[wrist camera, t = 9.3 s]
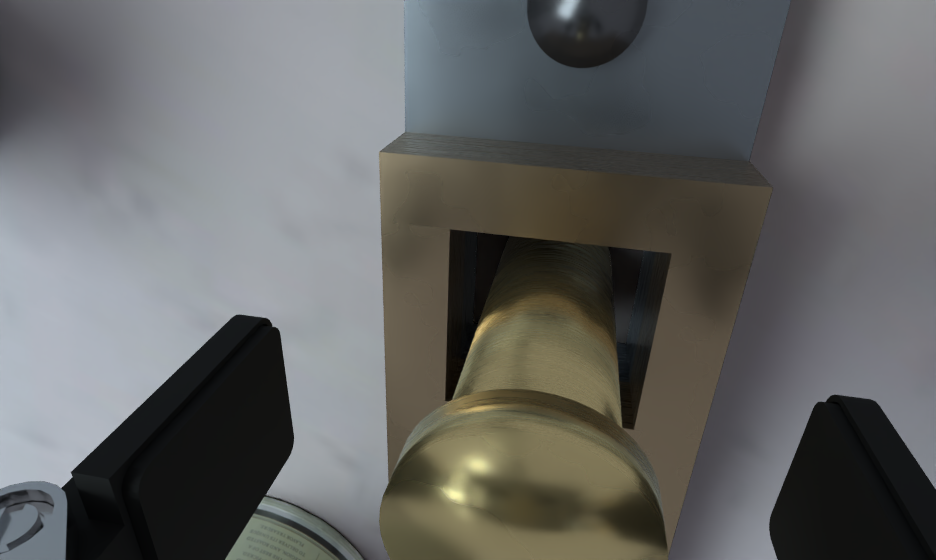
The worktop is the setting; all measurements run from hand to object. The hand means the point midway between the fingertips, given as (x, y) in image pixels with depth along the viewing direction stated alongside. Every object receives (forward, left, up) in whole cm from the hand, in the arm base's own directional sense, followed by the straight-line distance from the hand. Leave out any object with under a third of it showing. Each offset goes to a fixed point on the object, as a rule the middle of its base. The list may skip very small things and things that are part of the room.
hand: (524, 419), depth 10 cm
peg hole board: (0, 0, -8) cm, 8 cm away
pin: (0, 0, -8) cm, 8 cm away
